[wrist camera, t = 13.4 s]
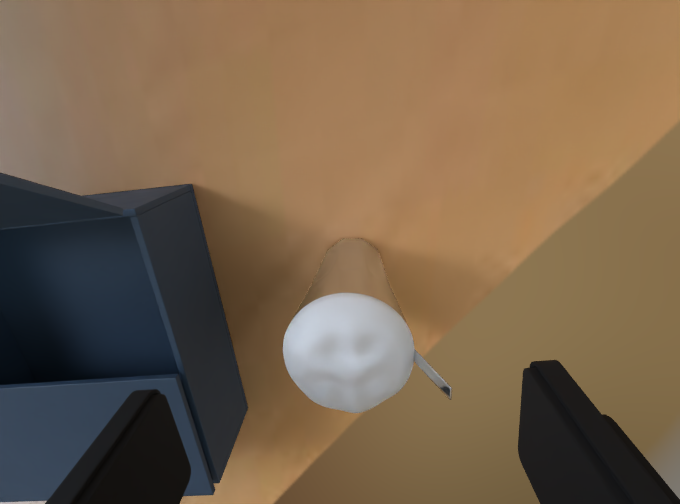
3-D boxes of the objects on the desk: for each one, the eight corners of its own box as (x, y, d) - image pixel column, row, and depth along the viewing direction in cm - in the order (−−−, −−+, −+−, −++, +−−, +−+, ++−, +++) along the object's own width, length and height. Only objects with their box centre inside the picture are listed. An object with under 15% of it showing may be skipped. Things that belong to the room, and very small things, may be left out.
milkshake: (408, 302, 21) (446, 453, 12) (313, 302, 22) (277, 449, 12) (411, 224, 20) (457, 327, 10) (309, 225, 20) (263, 327, 11)
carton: (54, 418, 26) (-32, 504, 20) (-46, 209, 21) (-198, 246, 15) (248, 407, 24) (214, 496, 19) (192, 183, 19) (123, 213, 14)
